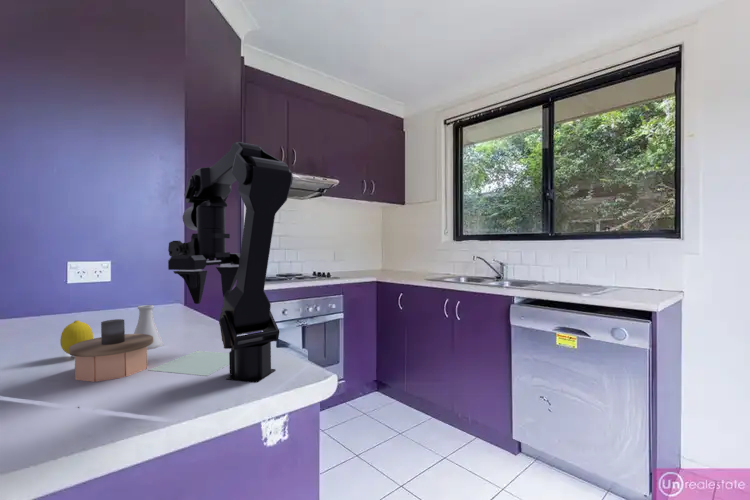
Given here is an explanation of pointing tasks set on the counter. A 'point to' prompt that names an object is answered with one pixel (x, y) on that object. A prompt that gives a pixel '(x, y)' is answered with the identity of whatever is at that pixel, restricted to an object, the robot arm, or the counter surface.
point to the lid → (111, 341)
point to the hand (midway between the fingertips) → (212, 300)
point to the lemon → (75, 334)
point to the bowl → (110, 365)
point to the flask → (148, 326)
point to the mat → (196, 363)
